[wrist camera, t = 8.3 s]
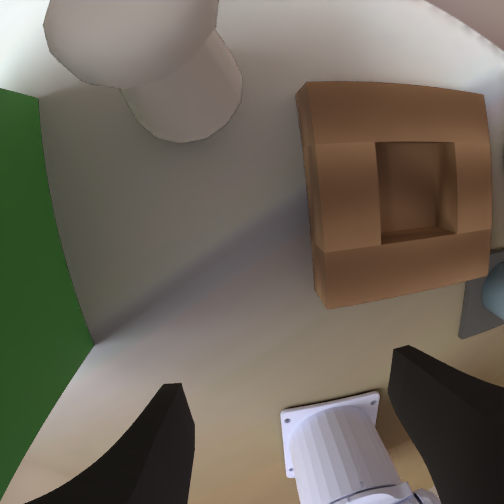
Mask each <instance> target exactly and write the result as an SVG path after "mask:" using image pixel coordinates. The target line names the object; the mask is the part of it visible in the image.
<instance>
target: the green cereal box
mask: <svg viewBox="0 0 504 504" xmlns="http://www.w3.org/2000/svg"><path fill="white" fill-rule="evenodd" d="M93 346H94V344H93V341H92V339H91V336H90V334H89V331H88V328H87V326H86V323H85V320H84V317H83V315H82V312H81V309H80V306H79V303H78V300H77V297H76V294H75V291H74V288H73V284H72V281H71V278H70V274H69V271H68V268H67V264H66V261H65V257H64V253H63V249H62V246H61V242H60V238H59V234H58V229H57V225H56V221H55V216H54V211H53V207H52V202H51V197H50V191H49V186H48V180H47V174H46V168H45V161H44V154H43V146H42V138H41V128H40V117H39V104H38V98H35V97H32V96H28V95H24V94H21V93H17V92H13V91H9V90H5V89H1V88H0V501H1V499H2V496H3V494H4V493H5V491H6V489H7V487H8V485H9V483H10V481H11V479H12V477H13V476H14V474H15V472H16V470H17V468H18V466H19V465H20V463H21V461H22V459H23V458H24V456H25V454H26V452H27V451H28V449H29V447H30V445H31V444H32V442H33V440H34V439H35V437H36V435H37V433H38V432H39V430H40V428H41V427H42V425H43V424H44V422H45V420H46V419H47V417H48V415H49V414H50V412H51V410H52V409H53V407H54V406H55V404H56V402H57V401H58V399H59V398H60V396H61V395H62V393H63V391H64V390H65V388H66V387H67V385H68V384H69V382H70V381H71V379H72V378H73V376H74V375H75V373H76V372H77V370H78V369H79V367H80V366H81V364H82V363H83V361H84V360H85V358H86V357H87V355H88V354H89V352H90V351H91V349H92V348H93Z"/></svg>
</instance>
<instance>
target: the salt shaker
mask: <svg viewBox="0 0 504 504" xmlns="http://www.w3.org/2000/svg"><path fill="white" fill-rule="evenodd" d="M218 2H219V0H50V3H49V6H48V9H47V12H46V16H45V19H44V23H43V28H44V32H45V36H46V40H47V44H48V48H49V51H50V53H51V54H52V55H53V56H54V57H55V58H56V59H57V60H58V61H59V62H60V63H61V64H62V65H63V66H65V67H66V68H67V69H68V70H69V71H70V72H72V73H73V74H74V75H75V76H76V77H77V78H79V79H80V80H81V81H84V82H86V83H89V84H91V85H99V86H107V87H114V88H119V89H120V91H121V93H122V95H123V97H124V98H125V100H126V102H127V104H128V106H129V107H130V109H131V111H132V113H133V114H134V116H135V118H136V120H137V121H138V123H139V124H140V125H142V126H143V127H144V128H145V129H146V130H147V131H149V132H150V133H151V134H152V135H153V136H155V137H156V138H159V139H163V140H168V141H172V142H177V143H185V142H190V141H195V140H201V139H206V138H208V137H209V136H210V135H212V134H213V133H215V132H216V131H217V130H219V129H220V128H222V127H223V126H224V125H226V124H227V123H228V122H229V120H230V119H231V117H232V115H233V114H234V112H235V111H236V109H237V107H238V106H239V104H240V103H241V96H242V75H241V73H240V71H239V68H238V66H237V64H236V61H235V59H234V57H233V55H232V53H231V52H230V50H229V49H228V47H227V46H226V45H225V43H224V42H223V40H222V39H221V37H220V36H219V34H218V33H217V31H216V30H215V27H216V21H217V11H218Z"/></svg>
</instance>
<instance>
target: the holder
mask: <svg viewBox="0 0 504 504" xmlns="http://www.w3.org/2000/svg"><path fill="white" fill-rule="evenodd" d="M296 102H297V109H298V117H299V124H300V132H301V141H302V149H303V158H304V167H305V176H306V186H307V196H308V207H309V219H310V231H311V243H312V257H313V272H314V289H315V291H316V293H317V294H318V296H319V298H320V299H321V301H322V302H323V304H324V306H325V307H326V309H327V310H328V309H334V308H339V307H345V306H351V305H356V304H362V303H367V302H372V301H377V300H383V299H388V298H393V297H397V296H402V295H407V294H412V293H416V292H421V291H426V290H430V289H434V288H439V287H443V286H447V285H452V284H456V283H460V282H464V281H468V280H472V279H476V278H480V277H484V276H488V268H489V258H490V245H491V228H492V170H491V153H490V141H489V131H488V122H487V114H486V107H485V101H484V95H482V94H476V93H471V92H465V91H459V90H452V89H445V88H437V87H429V86H419V85H409V84H396V83H379V82H348V81H325V82H306V83H305V84H304V85H303V86H302V88H301V89H300V90H299V91H298V92H297V93H296Z"/></svg>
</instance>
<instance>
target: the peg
mask: <svg viewBox="0 0 504 504" xmlns="http://www.w3.org/2000/svg"><path fill="white" fill-rule="evenodd" d="M482 301H483V305H484V307H485V308H486V309H487V310H489V311H490V312H492V313H493V314H495V315H496V316H498V317H500V318H501V319H503V320H504V263H500V264H498V265H496V266H495V267H494V268H493V269H492V270H491V271H490V273H489V274H488V276H487V278H486V280H485V283H484V286H483V291H482Z"/></svg>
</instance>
